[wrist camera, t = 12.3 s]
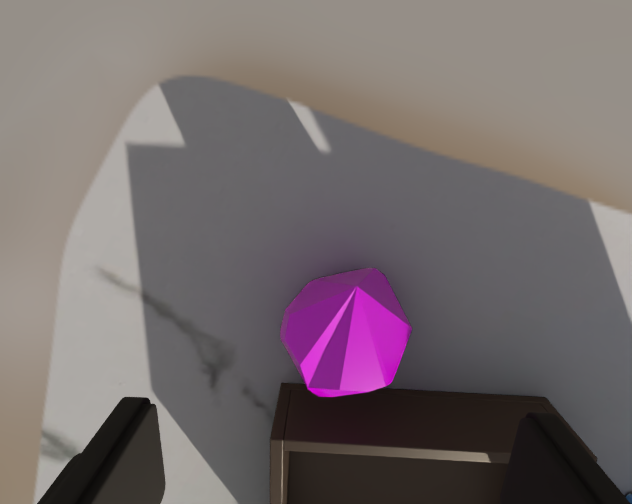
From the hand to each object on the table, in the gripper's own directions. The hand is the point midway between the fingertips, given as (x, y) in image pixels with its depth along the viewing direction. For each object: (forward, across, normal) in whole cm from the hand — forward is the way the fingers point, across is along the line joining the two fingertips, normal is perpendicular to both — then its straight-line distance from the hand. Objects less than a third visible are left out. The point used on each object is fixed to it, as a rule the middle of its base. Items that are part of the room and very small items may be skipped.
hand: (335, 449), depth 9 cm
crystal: (+10, -1, +1) cm, 10 cm away
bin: (+9, -5, +12) cm, 16 cm away
